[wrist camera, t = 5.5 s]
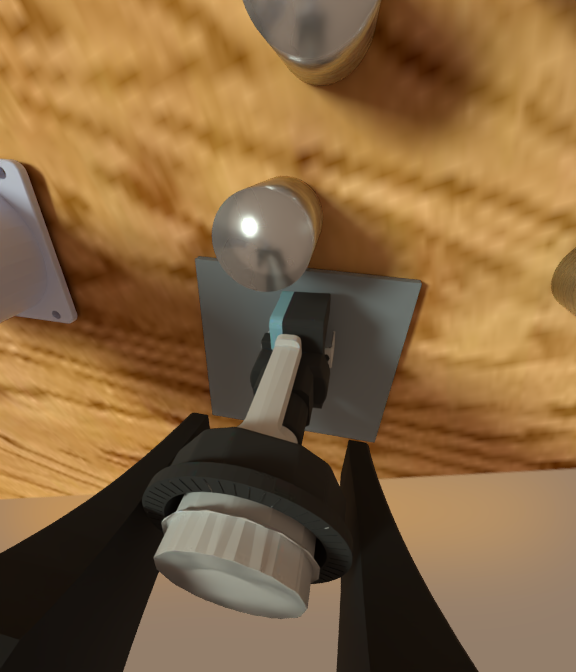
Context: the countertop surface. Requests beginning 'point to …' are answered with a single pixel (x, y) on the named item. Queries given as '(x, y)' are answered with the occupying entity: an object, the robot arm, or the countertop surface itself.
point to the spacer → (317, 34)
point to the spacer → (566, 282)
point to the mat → (350, 342)
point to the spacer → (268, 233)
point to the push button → (259, 484)
